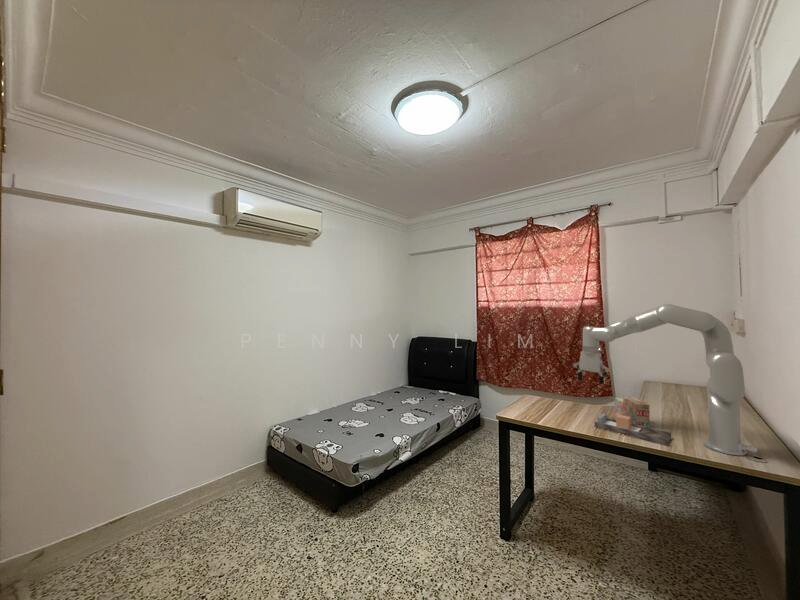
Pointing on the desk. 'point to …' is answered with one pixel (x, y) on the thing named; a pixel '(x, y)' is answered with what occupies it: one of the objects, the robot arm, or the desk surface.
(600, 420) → the white sliding panel
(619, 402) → the stack of blocks
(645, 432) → the rail board
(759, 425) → the desk surface
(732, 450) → the robot arm
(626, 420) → the terracotta block
